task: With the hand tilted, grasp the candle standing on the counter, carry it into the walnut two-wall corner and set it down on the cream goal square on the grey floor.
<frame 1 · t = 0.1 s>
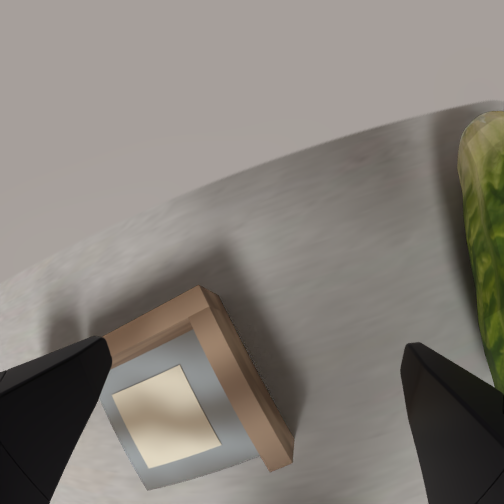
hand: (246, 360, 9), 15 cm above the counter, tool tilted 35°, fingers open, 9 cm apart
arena: (175, 415, 22), on the counter
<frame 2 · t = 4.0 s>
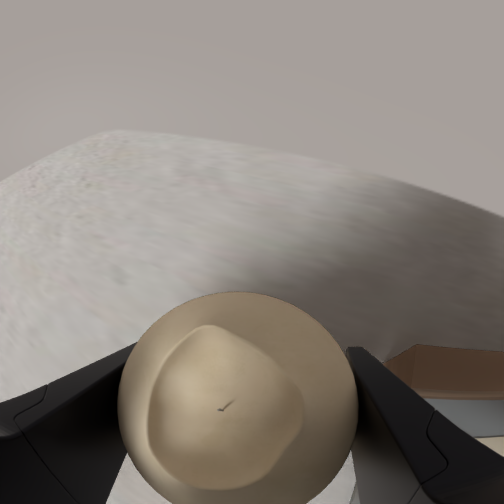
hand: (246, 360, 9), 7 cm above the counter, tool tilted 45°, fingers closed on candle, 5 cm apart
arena: (458, 499, 10), on the counter
candle: (267, 408, 14), on the counter, touching gripper
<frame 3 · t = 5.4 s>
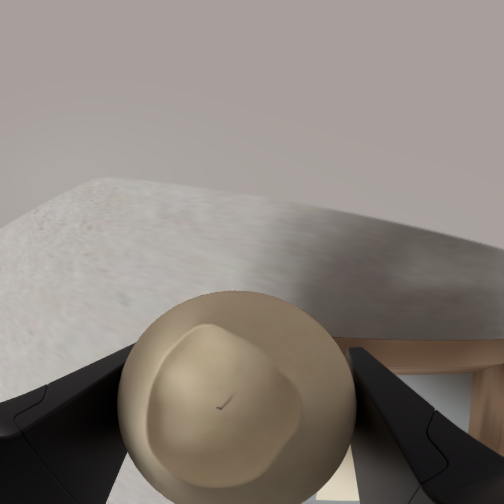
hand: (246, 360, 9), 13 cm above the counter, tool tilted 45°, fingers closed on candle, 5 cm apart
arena: (388, 452, 17), on the counter
candle: (266, 407, 14), point 6 cm above the counter, touching gripper
when the fingers open (8 cm above the counter, at t = 7.1 s): candle drops 1 cm, resting on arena.
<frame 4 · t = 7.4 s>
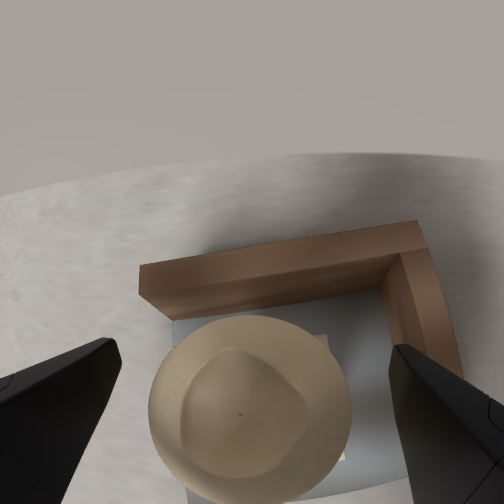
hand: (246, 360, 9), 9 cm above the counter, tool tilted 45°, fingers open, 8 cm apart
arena: (289, 405, 16), on the counter
candle: (272, 410, 15), resting on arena
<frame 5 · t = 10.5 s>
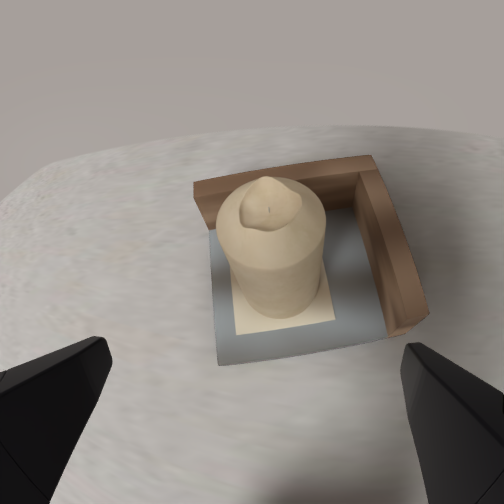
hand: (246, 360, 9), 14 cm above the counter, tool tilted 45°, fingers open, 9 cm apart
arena: (292, 282, 24), on the counter
candle: (280, 284, 24), resting on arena
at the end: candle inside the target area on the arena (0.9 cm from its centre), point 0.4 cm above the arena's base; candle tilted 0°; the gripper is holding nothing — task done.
